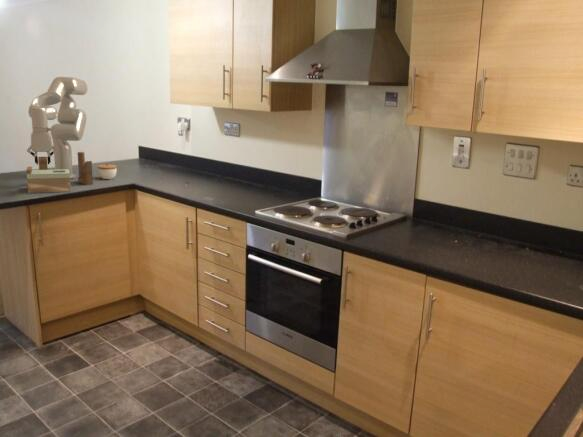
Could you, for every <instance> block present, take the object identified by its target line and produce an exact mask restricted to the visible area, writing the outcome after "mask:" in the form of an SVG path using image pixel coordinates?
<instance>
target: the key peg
mask: <svg viewBox="0 0 583 437" xmlns="http://www.w3.org/2000/svg"><path fill="white" fill-rule="evenodd" d="M37 157H38V170H49V169H48V160H47V157H48V156H37Z"/></svg>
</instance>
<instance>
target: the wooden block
mask: <svg viewBox="0 0 583 437" xmlns="http://www.w3.org/2000/svg"><path fill="white" fill-rule="evenodd" d="M85 158H86V157H85V152H84V151H78V152H77V165H78V166H77V168H78V177H77V182H78V183H79V184H83V185H85V186H90V185H91V186H92V185H94V182H93V180H94V179H93V163H92V162H93V161H92V160H89V161H88V160H87V161H86V159H85Z"/></svg>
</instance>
